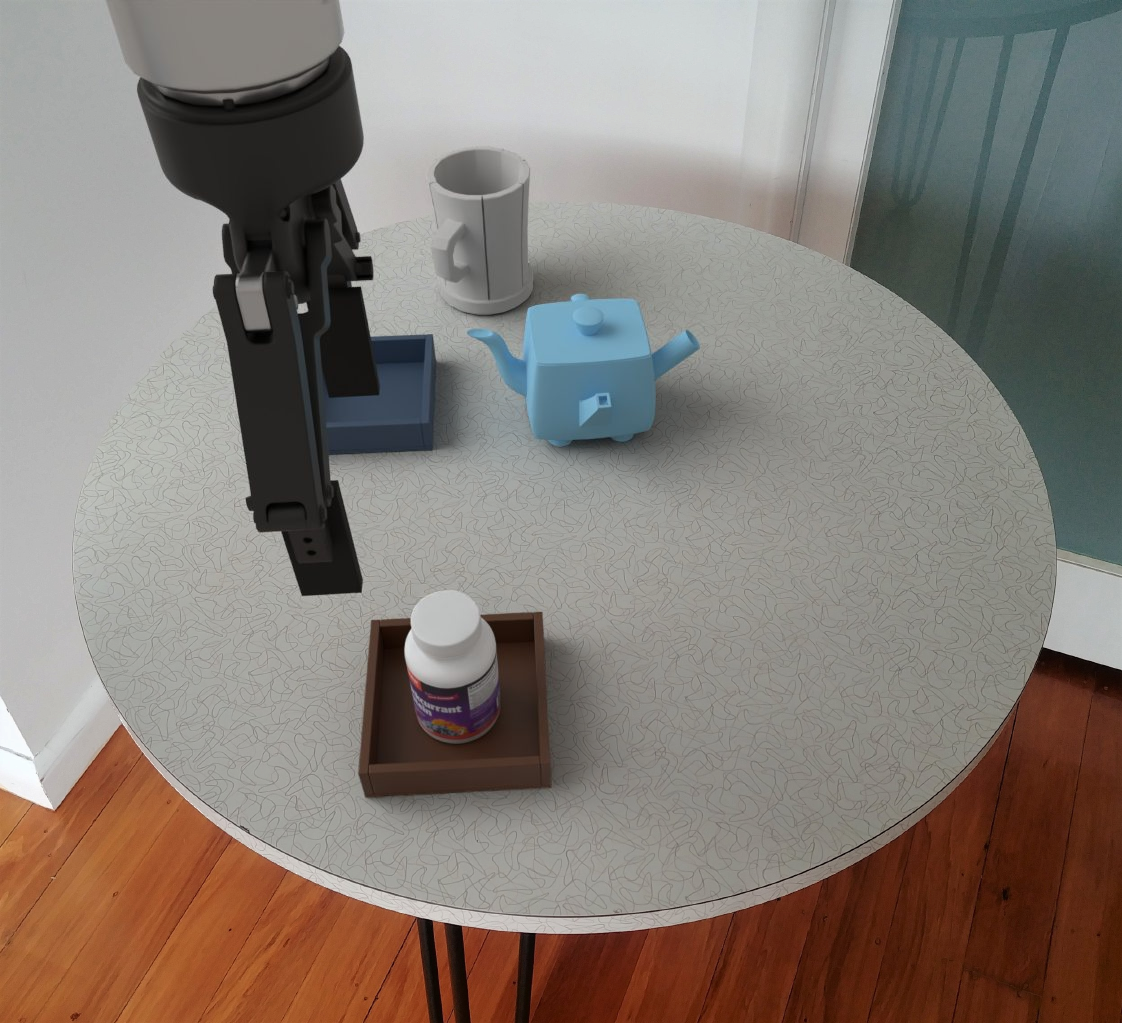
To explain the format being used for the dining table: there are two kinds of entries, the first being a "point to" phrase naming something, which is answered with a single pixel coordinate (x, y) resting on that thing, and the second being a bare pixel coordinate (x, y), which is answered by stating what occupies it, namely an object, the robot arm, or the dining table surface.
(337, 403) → the far bin
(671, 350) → the teapot
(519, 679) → the near bin
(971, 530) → the dining table surface
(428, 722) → the pill bottle
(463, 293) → the cup
